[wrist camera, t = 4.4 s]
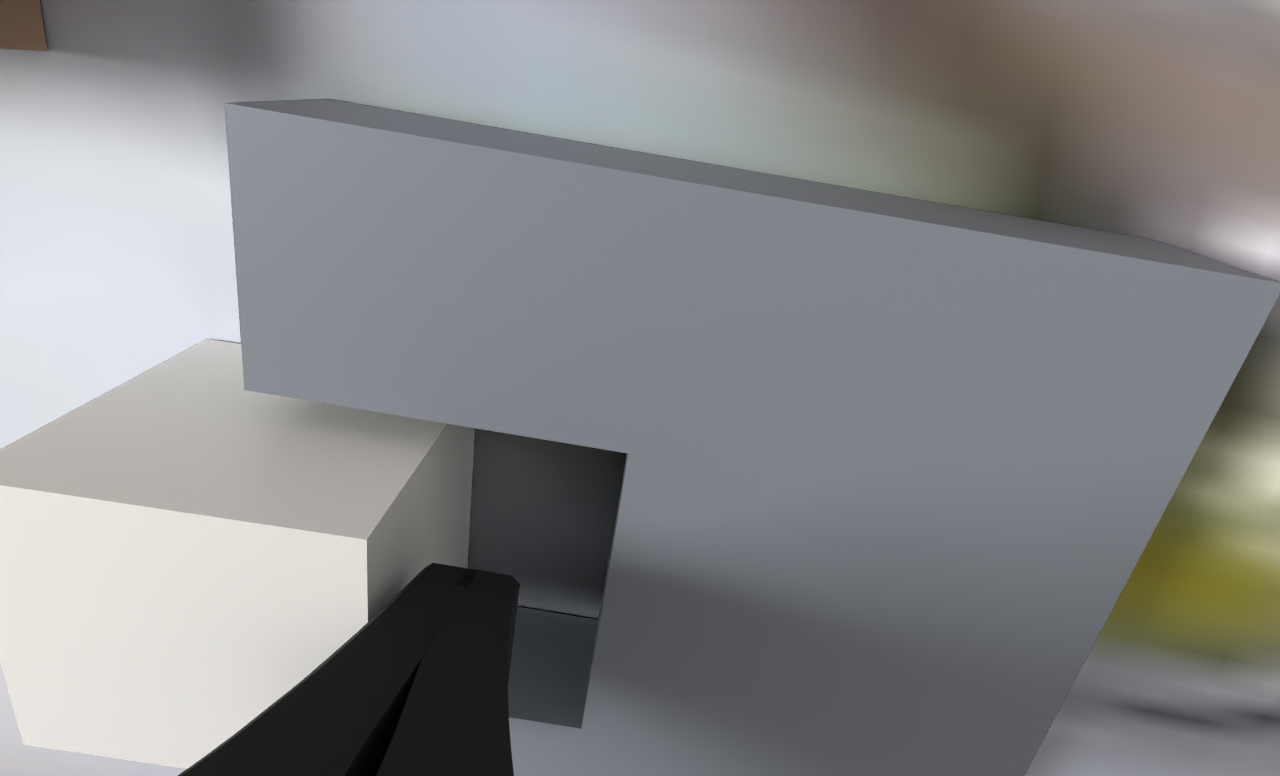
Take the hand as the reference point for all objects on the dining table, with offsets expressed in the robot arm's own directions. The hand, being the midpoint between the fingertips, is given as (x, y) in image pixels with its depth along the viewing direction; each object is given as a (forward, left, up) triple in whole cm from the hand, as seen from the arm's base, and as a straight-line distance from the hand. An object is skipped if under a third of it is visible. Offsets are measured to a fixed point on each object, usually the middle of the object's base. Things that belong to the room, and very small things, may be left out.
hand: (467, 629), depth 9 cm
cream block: (0, +3, -3) cm, 5 cm away
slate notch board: (0, -3, -3) cm, 4 cm away
